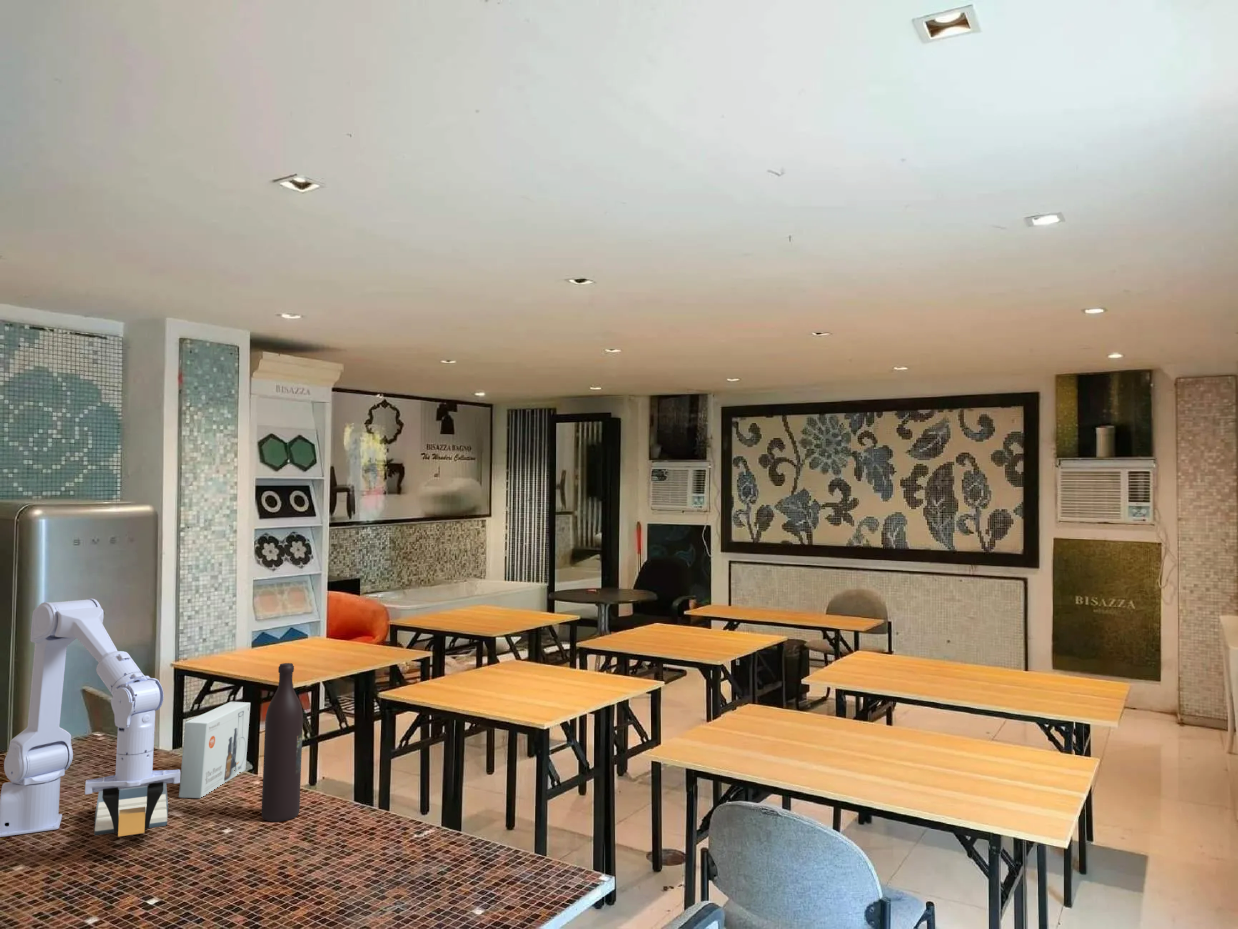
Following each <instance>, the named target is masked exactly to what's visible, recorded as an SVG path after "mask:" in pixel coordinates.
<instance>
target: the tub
mask: <svg viewBox="0 0 1238 929" xmlns="http://www.w3.org/2000/svg"><path fill="white" fill-rule="evenodd" d="M167 788H168V787H167V784H163V792H162V794H166V806H167V816H168V812H169V811H168V810H169V801H168V800H169V799H168V790H167ZM97 793H98V795H97V801H96V806H95V807H96V808H95V813H94V826H95V825H96V818H97V811H98V805H99V802H104V800H103V798H102V796H103V791H100V792H97ZM162 794H161V795H162ZM146 796H147V786H142V787H134V788H125V789H119V800H122V799H130V798H138V797H146ZM166 825H167V826H168V820H167V821H166V822H158V823H151V824H149V829H152V828H159V827H165V826H166ZM93 830H94V834H93V835H94V837H95V836H101V835H109V834H114V829H108V830H101V831H95V829H93Z"/></svg>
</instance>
